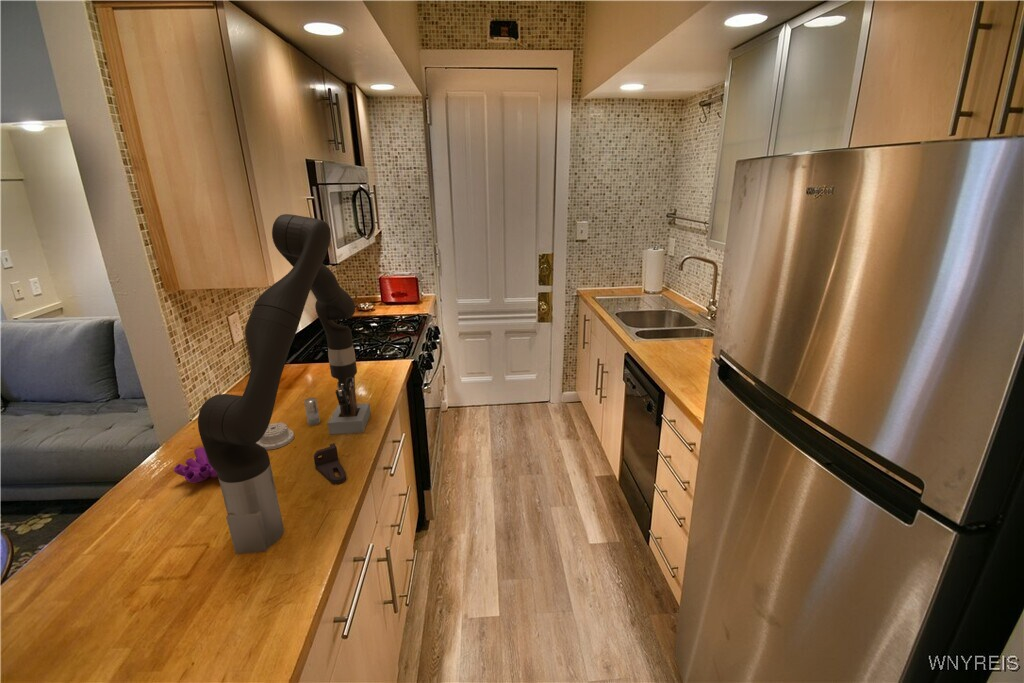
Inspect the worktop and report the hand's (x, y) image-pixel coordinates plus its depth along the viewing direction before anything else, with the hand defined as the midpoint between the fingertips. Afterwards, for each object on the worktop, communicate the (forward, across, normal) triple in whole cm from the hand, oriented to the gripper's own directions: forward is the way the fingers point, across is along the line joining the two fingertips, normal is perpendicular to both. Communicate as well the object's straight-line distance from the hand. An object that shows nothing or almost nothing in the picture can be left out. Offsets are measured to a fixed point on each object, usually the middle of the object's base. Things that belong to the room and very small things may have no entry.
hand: (349, 410), depth 140 cm
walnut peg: (+2, 0, 0) cm, 2 cm away
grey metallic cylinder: (+5, +2, +12) cm, 13 cm away
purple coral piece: (+5, -24, +30) cm, 39 cm away
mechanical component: (+5, -8, +20) cm, 22 cm away
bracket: (+5, -26, -1) cm, 26 cm away
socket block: (+5, 0, 0) cm, 5 cm away
